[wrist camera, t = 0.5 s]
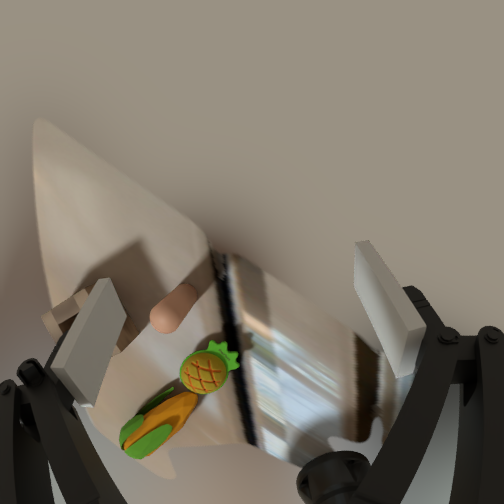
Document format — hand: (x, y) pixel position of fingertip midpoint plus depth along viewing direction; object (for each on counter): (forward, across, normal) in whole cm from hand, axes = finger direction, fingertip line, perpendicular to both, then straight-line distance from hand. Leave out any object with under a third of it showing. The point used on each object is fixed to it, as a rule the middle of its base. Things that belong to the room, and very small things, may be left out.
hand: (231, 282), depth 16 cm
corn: (+16, +20, +36) cm, 44 cm away
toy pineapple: (+20, +9, +28) cm, 36 cm away
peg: (+24, +11, +18) cm, 32 cm away
